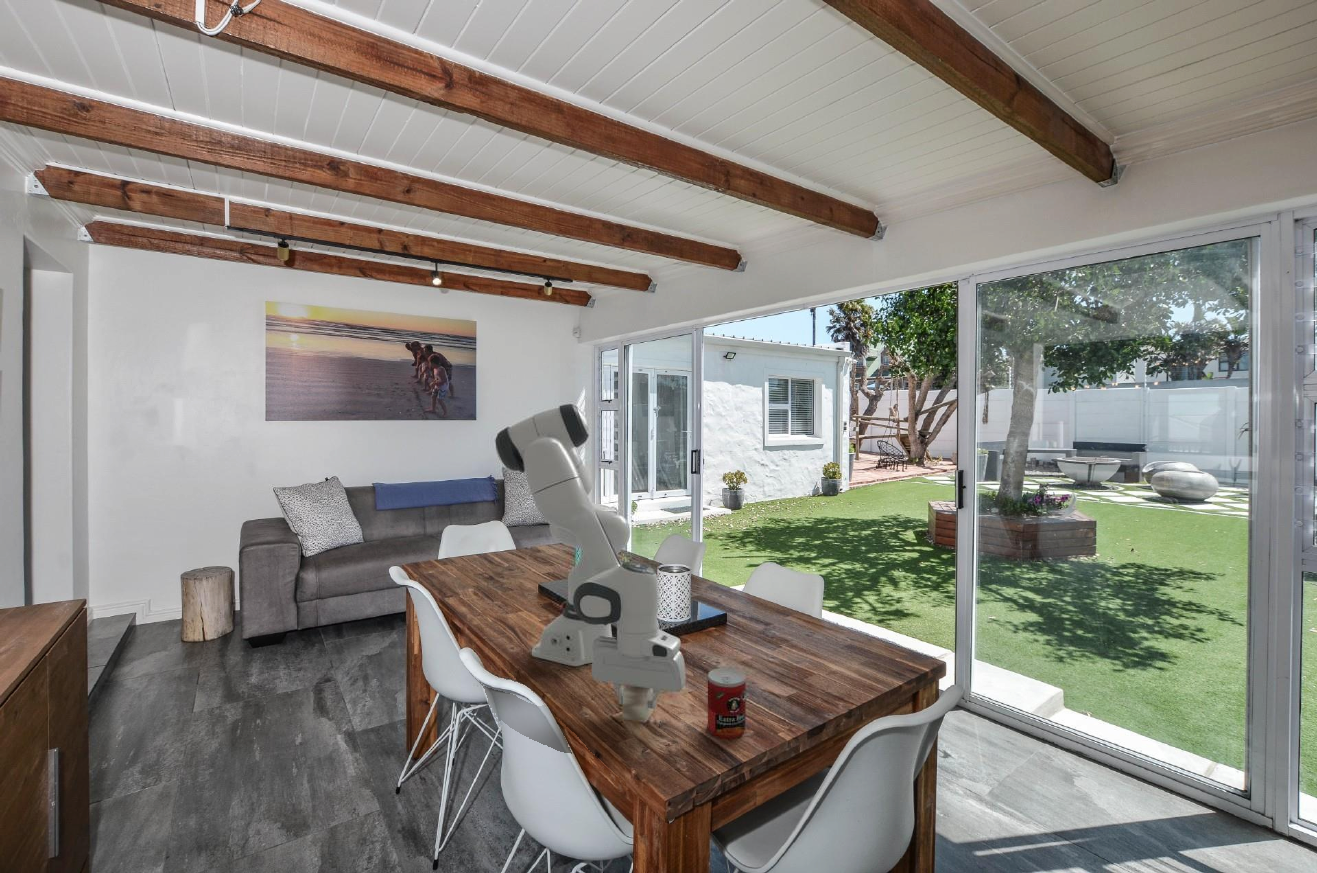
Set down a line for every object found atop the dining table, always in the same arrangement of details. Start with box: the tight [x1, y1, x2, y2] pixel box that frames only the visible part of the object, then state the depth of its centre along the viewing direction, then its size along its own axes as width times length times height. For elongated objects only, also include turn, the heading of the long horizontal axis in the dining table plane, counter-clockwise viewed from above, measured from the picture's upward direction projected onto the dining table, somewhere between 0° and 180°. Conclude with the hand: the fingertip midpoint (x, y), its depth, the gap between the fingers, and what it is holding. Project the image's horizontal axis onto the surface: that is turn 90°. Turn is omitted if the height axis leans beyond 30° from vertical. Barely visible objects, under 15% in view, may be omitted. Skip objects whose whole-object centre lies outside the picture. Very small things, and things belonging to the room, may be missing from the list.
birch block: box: [622, 685, 654, 723], centre depth 126 cm, size 5×5×6 cm
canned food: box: [707, 667, 747, 740], centre depth 120 cm, size 8×8×11 cm
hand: (637, 705), depth 126 cm, fingers closed on birch block, 5 cm apart
